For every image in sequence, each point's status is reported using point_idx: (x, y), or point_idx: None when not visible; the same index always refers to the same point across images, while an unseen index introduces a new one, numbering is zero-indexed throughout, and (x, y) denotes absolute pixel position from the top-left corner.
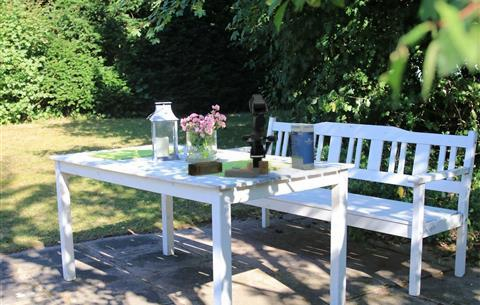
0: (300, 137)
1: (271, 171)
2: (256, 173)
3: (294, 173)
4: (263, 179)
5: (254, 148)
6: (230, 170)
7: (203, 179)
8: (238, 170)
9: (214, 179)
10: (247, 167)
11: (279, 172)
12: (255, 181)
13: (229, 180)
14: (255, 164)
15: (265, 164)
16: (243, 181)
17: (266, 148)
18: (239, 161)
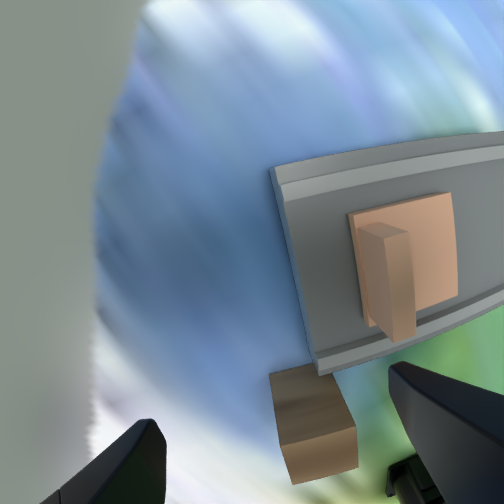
0: None
1: None
2: (297, 280)
3: None
4: (139, 161)
5: (440, 461)
6: (482, 147)
7: (492, 16)
8: (427, 155)
9: (457, 22)
10: (382, 225)
11: (236, 463)
12: (147, 52)
13: (358, 6)
14: (426, 471)
15: (280, 427)
16: (235, 7)
17: (70, 490)
18: None
